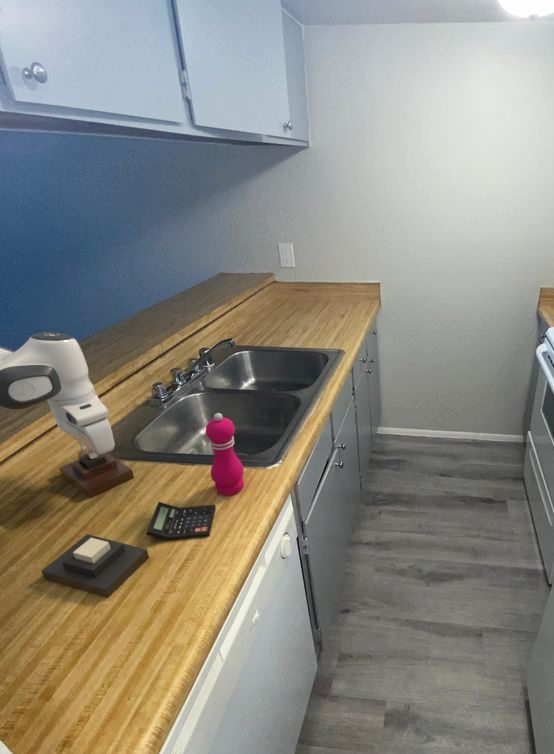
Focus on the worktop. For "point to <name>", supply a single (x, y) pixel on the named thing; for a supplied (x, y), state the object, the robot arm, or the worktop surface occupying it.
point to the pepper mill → (224, 457)
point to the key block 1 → (97, 475)
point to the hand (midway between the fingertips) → (91, 455)
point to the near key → (91, 550)
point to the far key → (91, 461)
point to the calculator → (181, 522)
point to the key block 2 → (96, 568)
